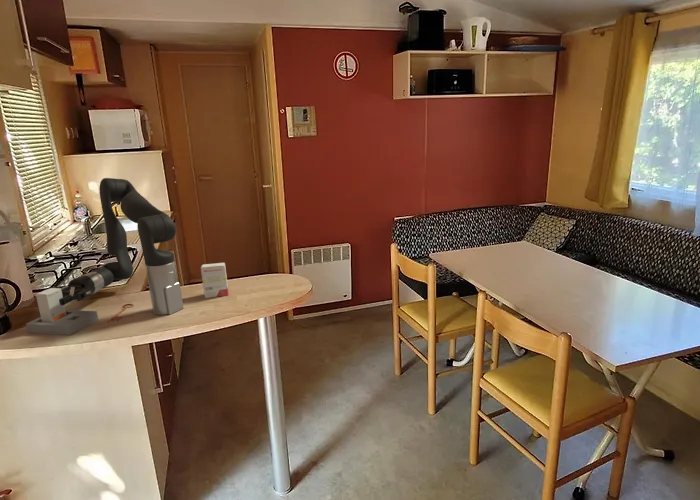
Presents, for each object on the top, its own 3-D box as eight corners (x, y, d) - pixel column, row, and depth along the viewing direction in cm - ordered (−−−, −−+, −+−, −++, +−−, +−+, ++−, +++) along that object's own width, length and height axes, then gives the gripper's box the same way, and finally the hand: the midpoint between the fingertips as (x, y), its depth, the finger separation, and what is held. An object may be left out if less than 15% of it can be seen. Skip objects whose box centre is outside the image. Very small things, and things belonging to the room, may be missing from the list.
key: (120, 323, 153) (141, 306, 168) (120, 321, 153) (140, 303, 167) (102, 322, 153) (125, 305, 168) (102, 320, 153) (124, 302, 167)
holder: (98, 319, 155) (96, 311, 155) (70, 335, 144) (68, 326, 143) (58, 317, 159) (56, 309, 158) (28, 332, 148) (25, 323, 147)
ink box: (228, 291, 177) (225, 261, 174) (228, 295, 172) (224, 265, 169) (205, 293, 175) (201, 263, 172) (204, 298, 171) (200, 267, 167)
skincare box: (54, 329, 149) (45, 294, 146) (43, 328, 150) (34, 294, 147) (68, 321, 155) (61, 288, 151) (58, 321, 156) (50, 287, 152)
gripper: (67, 274, 165) (28, 290, 150) (102, 275, 162) (65, 291, 147) (71, 294, 167) (33, 311, 152) (106, 295, 164) (70, 313, 149)
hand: (49, 302), depth 149 cm, fingers open, 8 cm apart
